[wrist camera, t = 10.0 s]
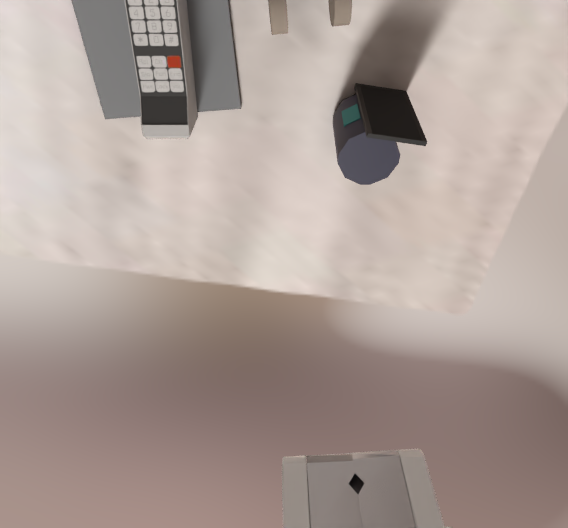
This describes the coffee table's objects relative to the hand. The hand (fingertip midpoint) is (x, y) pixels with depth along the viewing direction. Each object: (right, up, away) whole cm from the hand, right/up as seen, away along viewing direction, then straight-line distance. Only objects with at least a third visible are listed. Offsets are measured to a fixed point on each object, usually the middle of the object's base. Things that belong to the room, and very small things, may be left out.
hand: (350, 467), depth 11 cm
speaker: (+6, +17, +33) cm, 38 cm away
